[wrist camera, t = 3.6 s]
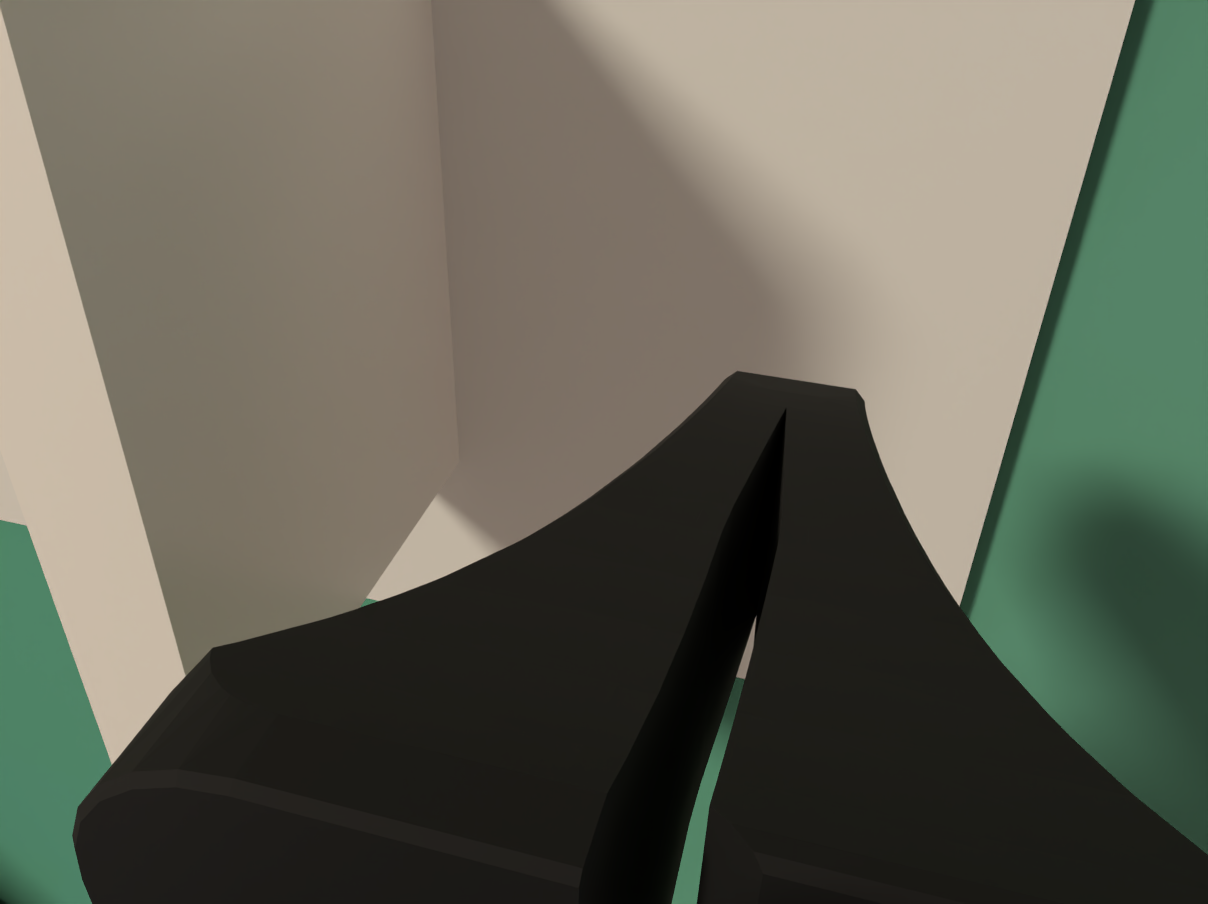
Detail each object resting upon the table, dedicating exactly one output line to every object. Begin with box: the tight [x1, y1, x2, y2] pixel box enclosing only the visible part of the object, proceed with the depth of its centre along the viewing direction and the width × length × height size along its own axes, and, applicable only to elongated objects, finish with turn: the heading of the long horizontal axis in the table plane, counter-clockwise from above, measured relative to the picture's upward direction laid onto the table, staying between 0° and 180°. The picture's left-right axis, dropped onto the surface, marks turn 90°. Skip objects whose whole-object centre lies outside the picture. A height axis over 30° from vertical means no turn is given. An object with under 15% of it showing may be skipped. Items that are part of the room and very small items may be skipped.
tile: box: [0, 0, 459, 764], centre depth 14 cm, size 2×10×8 cm, turn 177°
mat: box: [0, 0, 1135, 679], centre depth 17 cm, size 22×18×1 cm
